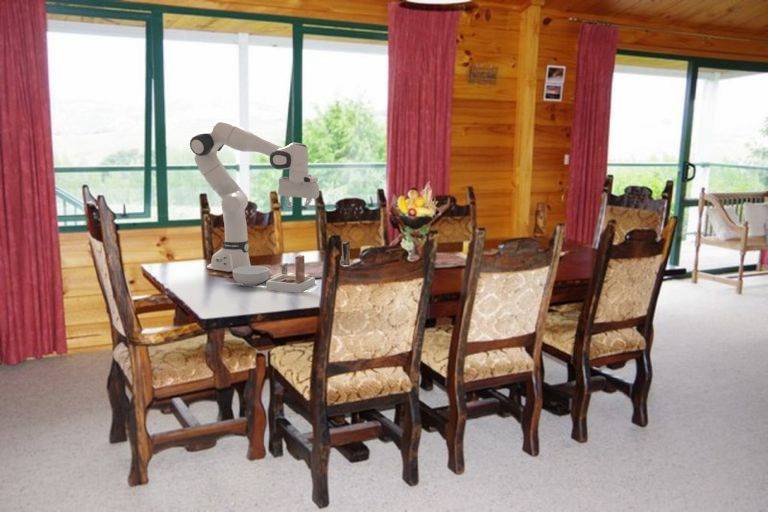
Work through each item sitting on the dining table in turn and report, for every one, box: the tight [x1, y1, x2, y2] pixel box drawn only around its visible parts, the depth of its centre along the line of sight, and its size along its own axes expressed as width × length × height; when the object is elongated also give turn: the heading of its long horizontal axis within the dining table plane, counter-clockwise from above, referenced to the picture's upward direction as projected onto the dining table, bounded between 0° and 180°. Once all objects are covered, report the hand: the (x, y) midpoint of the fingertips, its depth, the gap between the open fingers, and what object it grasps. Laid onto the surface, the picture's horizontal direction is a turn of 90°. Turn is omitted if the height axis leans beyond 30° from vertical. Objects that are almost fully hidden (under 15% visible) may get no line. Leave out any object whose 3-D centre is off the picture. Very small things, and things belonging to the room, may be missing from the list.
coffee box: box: [341, 240, 351, 265], centre depth 344 cm, size 9×6×16 cm
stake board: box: [268, 262, 311, 279], centre depth 336 cm, size 16×13×7 cm
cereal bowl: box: [231, 265, 270, 287], centre depth 323 cm, size 17×17×7 cm
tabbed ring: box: [277, 254, 306, 284], centre depth 317 cm, size 12×9×14 cm
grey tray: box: [265, 274, 316, 294], centre depth 318 cm, size 17×15×4 cm
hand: (298, 206), depth 333 cm, fingers open, 8 cm apart
